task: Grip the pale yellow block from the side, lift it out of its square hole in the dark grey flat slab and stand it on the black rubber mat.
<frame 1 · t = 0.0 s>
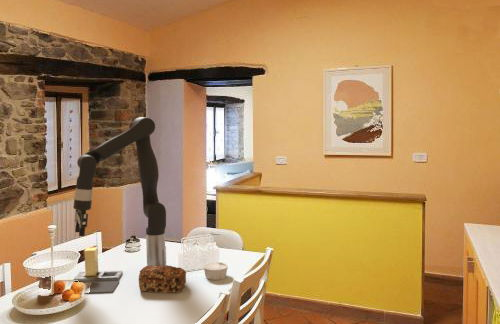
hand: (79, 234, 196), 22 cm above the table, tool pointing down, fingers open, 8 cm apart
ramekin: (215, 277, 203), on the table
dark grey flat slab: (98, 277, 203), on the table
figurine: (47, 294, 185), on the table
pale yellow block: (92, 278, 203), resting in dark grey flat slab
bread: (163, 289, 190), on the table
rubber mat: (102, 287, 191), on the table
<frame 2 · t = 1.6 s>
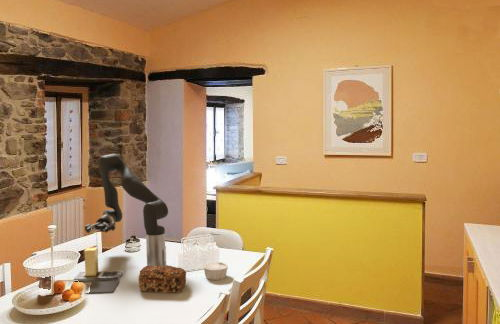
hand: (96, 230, 212), 20 cm above the table, tool horizontal, fingers open, 8 cm apart
nothing on the table moved.
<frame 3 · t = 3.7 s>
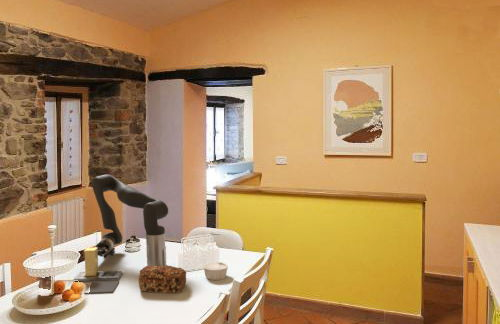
hand: (95, 256, 209), 8 cm above the table, tool horizontal, fingers open, 8 cm apart
nothing on the table moved.
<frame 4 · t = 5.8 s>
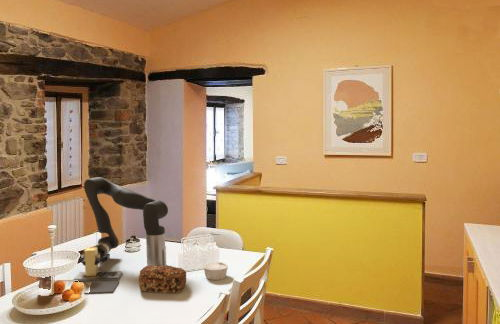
hand: (89, 263, 200), 8 cm above the table, tool horizontal, fingers closed on pale yellow block, 4 cm apart
pale yellow block: (92, 278, 203), resting in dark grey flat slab, touching gripper
everything else where it was.
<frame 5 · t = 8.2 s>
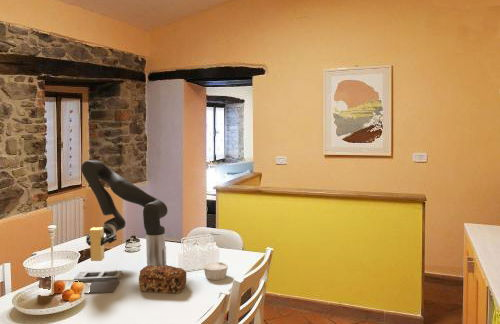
hand: (95, 243, 189), 20 cm above the table, tool horizontal, fingers closed on pale yellow block, 4 cm apart
pale yellow block: (97, 259, 193), point 12 cm above the table, touching gripper
everything else where it was.
when the fingers open (10 cm above the table, at t = 10.8 s): pale yellow block drops 1 cm, resting on rubber mat.
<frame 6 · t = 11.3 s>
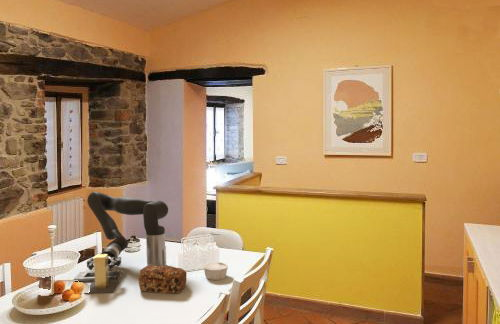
hand: (100, 267, 188), 10 cm above the table, tool horizontal, fingers open, 8 cm apart
pale yellow block: (102, 286, 191), point 1 cm above the table, touching rubber mat
everything else where it was.
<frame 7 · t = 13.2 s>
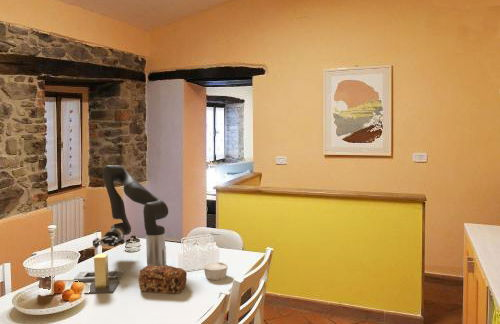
hand: (105, 245, 201), 16 cm above the table, tool horizontal, fingers open, 8 cm apart
nothing on the table moved.
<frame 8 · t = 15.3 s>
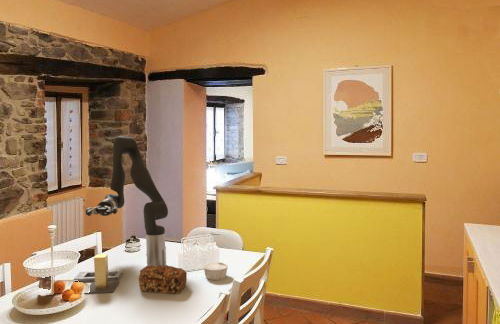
hand: (97, 213, 203), 30 cm above the table, tool horizontal, fingers open, 8 cm apart
nothing on the table moved.
at the end: pale yellow block inside the target area (0.0 cm from its centre), point 0.6 cm above the table; pale yellow block tilted 0°; the gripper is holding nothing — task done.
